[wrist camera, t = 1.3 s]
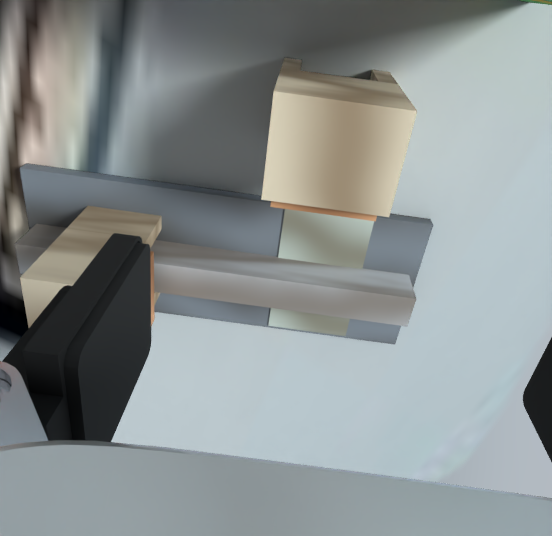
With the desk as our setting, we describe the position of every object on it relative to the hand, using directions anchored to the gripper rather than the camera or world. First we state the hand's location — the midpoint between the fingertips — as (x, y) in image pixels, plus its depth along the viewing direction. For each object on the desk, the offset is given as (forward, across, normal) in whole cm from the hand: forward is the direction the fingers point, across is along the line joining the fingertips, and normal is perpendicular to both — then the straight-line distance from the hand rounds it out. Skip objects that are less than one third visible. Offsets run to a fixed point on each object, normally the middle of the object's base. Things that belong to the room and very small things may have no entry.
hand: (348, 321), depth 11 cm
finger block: (+18, 0, -1) cm, 18 cm away
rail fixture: (+18, +5, +9) cm, 21 cm away
